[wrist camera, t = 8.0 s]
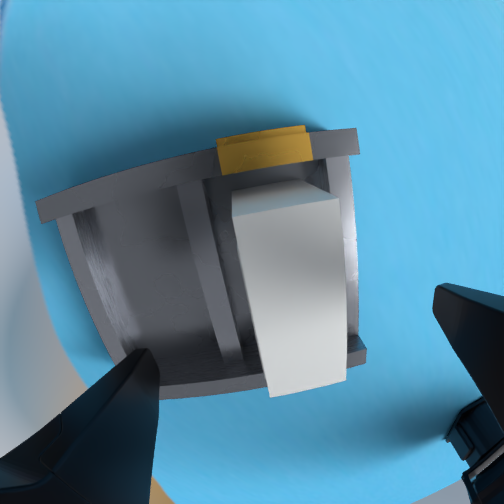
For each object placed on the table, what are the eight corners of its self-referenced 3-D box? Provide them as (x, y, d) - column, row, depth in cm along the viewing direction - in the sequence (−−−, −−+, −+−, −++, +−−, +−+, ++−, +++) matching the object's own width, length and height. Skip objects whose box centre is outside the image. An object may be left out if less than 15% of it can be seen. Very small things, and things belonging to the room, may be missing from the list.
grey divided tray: (329, 125, 12) (356, 119, 10) (347, 331, 16) (366, 365, 13) (66, 184, 12) (31, 195, 9) (134, 367, 16) (121, 403, 13)
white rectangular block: (300, 179, 13) (340, 197, 8) (316, 314, 15) (347, 379, 10) (230, 191, 13) (230, 217, 8) (257, 327, 15) (268, 397, 10)
